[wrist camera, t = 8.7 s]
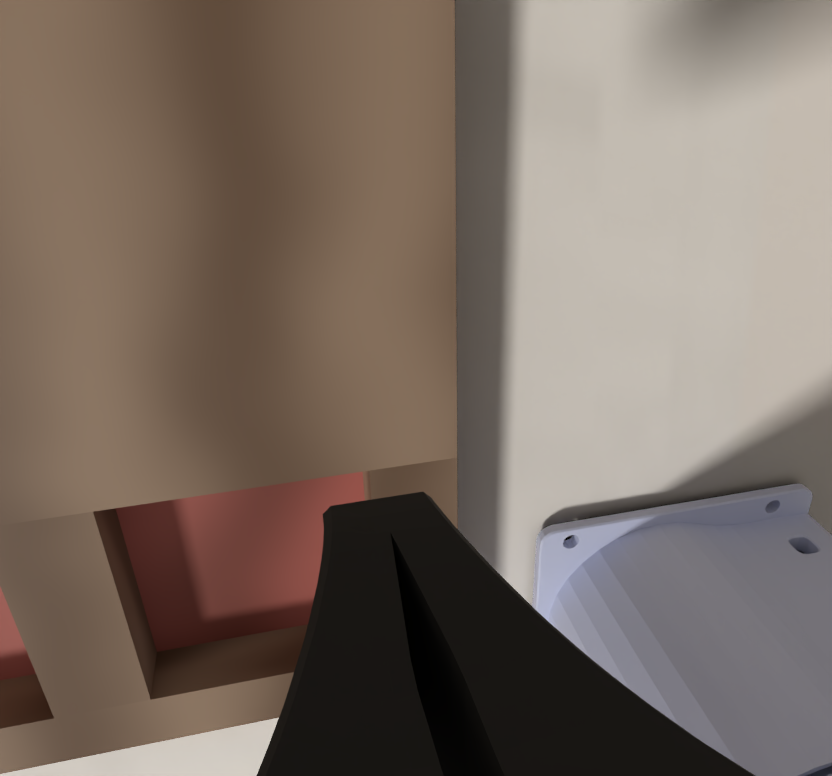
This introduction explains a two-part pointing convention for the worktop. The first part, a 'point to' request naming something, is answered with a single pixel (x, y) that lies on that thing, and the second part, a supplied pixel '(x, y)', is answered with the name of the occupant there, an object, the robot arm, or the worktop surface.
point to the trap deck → (208, 341)
